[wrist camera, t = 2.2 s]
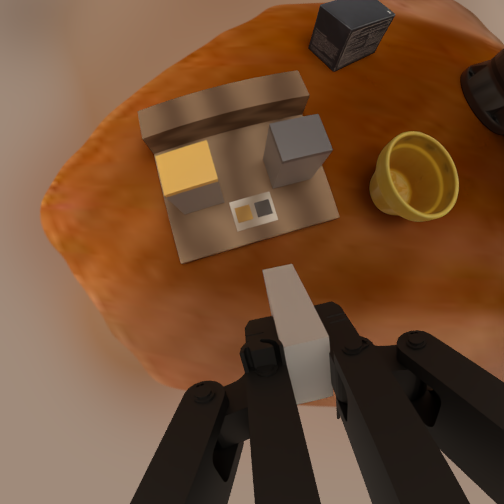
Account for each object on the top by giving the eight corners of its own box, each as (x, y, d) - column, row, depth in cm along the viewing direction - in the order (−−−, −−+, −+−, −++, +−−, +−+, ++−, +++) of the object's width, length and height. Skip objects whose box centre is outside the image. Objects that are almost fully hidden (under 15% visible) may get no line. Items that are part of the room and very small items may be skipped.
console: (289, 93, 39) (296, 67, 32) (336, 218, 38) (353, 209, 32) (151, 130, 38) (136, 108, 32) (183, 263, 37) (171, 262, 31)
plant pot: (373, 240, 38) (410, 231, 28) (343, 168, 38) (371, 139, 29) (429, 215, 38) (470, 203, 29) (401, 150, 39) (436, 123, 29)
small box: (349, 29, 40) (366, -11, 30) (375, 53, 40) (398, 15, 30) (305, 47, 40) (318, 2, 29) (333, 73, 39) (353, 30, 29)
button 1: (300, 149, 37) (318, 113, 27) (311, 178, 37) (332, 149, 27) (262, 159, 37) (269, 123, 27) (272, 188, 36) (282, 161, 27)
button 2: (215, 172, 36) (206, 139, 27) (224, 202, 36) (217, 178, 26) (176, 184, 36) (155, 156, 26) (184, 214, 36) (164, 195, 26)
